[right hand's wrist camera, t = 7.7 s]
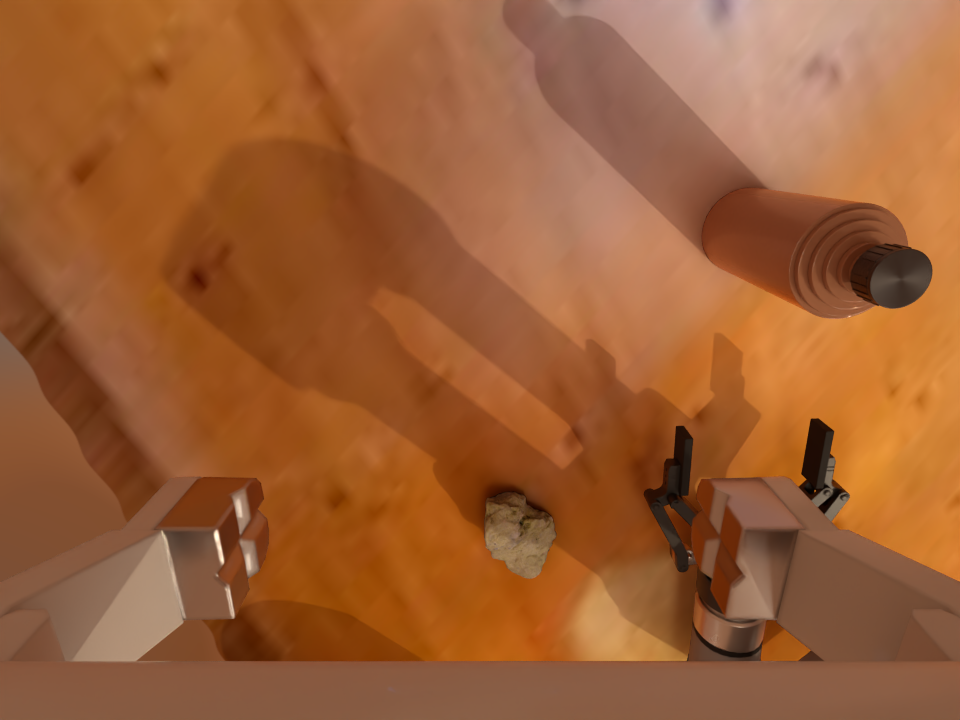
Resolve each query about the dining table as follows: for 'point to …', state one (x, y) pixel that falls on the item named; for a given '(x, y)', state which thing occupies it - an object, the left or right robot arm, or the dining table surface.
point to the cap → (891, 275)
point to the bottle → (798, 245)
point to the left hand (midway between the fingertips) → (753, 428)
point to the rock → (518, 533)
